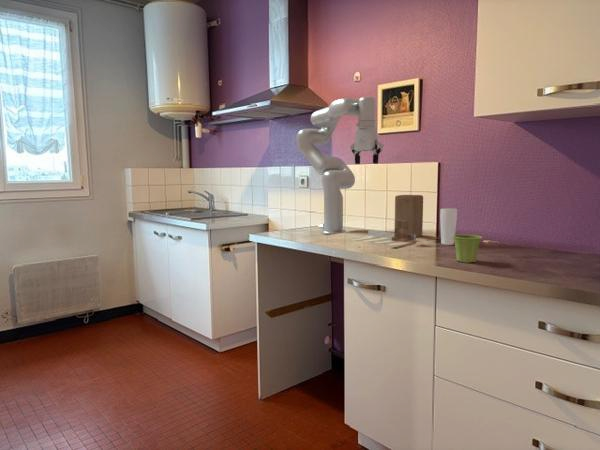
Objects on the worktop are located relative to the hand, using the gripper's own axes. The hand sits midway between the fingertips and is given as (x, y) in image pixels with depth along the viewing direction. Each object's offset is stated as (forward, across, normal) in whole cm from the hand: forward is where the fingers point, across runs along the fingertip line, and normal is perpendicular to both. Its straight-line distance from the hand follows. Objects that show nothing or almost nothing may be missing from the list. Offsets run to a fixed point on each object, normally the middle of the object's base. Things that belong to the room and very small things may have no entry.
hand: (366, 163), depth 200 cm
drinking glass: (+34, +36, +8) cm, 50 cm away
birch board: (+34, +14, -8) cm, 38 cm away
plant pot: (+34, +56, -22) cm, 69 cm away
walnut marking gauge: (+33, +21, -4) cm, 39 cm away
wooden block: (+34, +16, +11) cm, 40 cm away
